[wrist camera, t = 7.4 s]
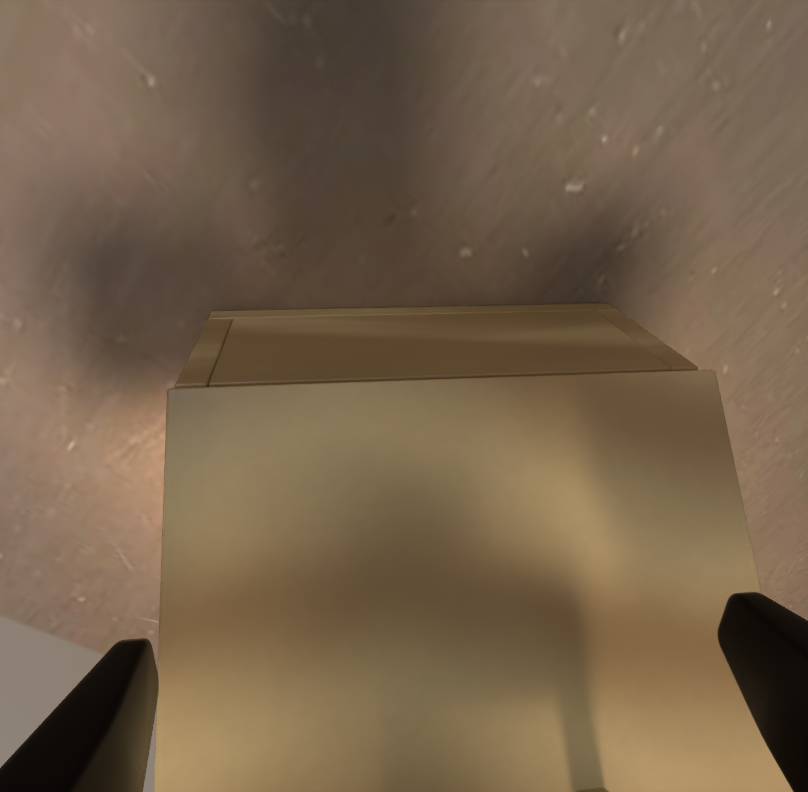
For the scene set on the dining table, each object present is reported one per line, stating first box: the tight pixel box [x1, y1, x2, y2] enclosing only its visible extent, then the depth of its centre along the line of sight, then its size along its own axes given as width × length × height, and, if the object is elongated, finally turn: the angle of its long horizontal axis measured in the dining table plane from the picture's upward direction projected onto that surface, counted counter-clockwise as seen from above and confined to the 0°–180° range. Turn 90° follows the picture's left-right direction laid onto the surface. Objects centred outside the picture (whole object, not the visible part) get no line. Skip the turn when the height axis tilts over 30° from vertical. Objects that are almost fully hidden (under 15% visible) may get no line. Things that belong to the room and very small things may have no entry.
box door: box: [154, 370, 793, 792], centre depth 12 cm, size 11×14×5 cm
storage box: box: [175, 303, 698, 388], centre depth 21 cm, size 11×14×6 cm
